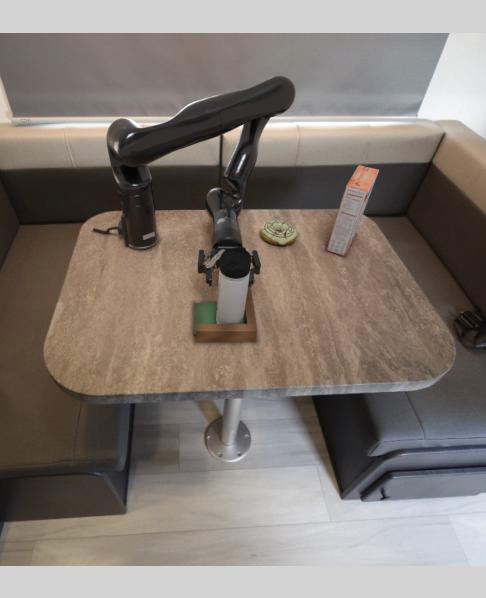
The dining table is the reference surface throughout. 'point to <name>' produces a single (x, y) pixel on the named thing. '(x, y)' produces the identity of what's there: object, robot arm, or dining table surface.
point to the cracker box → (351, 209)
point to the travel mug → (233, 285)
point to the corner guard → (214, 332)
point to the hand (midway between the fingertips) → (230, 283)
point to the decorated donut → (278, 232)
